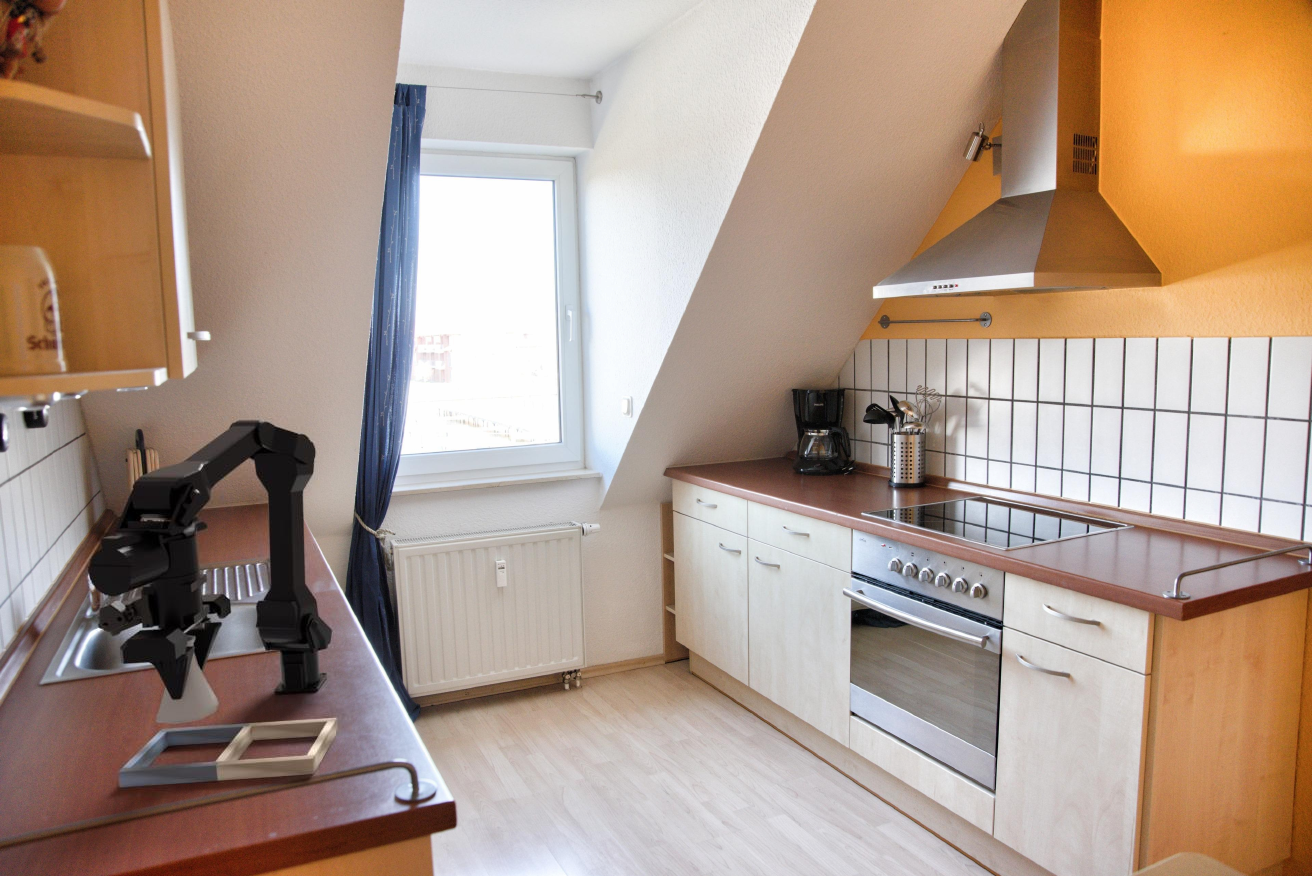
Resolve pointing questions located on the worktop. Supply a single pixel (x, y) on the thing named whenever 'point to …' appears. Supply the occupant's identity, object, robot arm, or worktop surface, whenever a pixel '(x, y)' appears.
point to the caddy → (229, 753)
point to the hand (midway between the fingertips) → (185, 690)
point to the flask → (189, 698)
